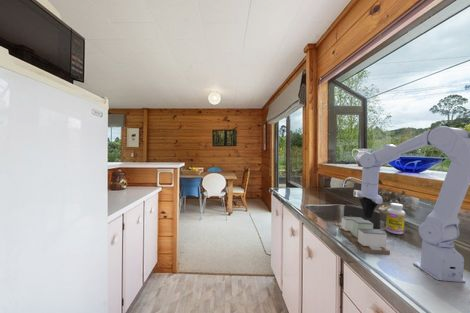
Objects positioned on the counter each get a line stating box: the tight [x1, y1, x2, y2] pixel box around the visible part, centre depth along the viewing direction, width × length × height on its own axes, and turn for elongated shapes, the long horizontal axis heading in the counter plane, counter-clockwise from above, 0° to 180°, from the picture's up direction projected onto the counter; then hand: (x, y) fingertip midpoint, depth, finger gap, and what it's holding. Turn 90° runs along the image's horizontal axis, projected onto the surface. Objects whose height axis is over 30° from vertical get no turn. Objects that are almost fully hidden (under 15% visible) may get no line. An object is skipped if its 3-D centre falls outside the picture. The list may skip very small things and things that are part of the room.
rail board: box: [338, 226, 391, 255], centre depth 90 cm, size 22×9×2 cm, turn 177°
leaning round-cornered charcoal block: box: [343, 204, 382, 230], centre depth 107 cm, size 16×5×9 cm, turn 39°
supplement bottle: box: [385, 202, 406, 235], centre depth 102 cm, size 7×7×13 cm
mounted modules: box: [341, 215, 388, 248], centre depth 90 cm, size 19×8×5 cm, turn 177°
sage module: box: [352, 219, 373, 238], centre depth 90 cm, size 4×6×6 cm, turn 86°
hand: (367, 217), depth 89 cm, fingers closed
